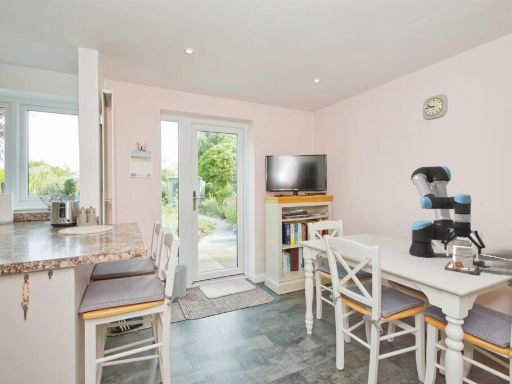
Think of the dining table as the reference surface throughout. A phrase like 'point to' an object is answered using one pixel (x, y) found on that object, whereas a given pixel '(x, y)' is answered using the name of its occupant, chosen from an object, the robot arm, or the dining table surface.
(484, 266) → the button housing
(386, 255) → the dining table surface
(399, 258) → the dining table surface
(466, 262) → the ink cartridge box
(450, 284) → the dining table surface
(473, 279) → the dining table surface
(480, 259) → the button
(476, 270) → the brown divided square tray
